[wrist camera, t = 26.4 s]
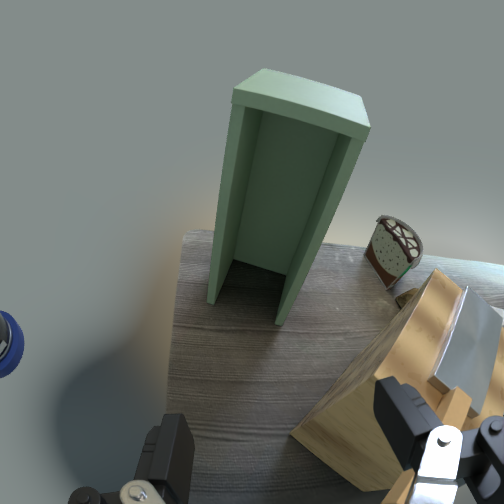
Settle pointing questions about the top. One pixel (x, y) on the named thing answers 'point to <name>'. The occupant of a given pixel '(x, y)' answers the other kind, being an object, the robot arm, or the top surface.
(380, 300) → the top surface
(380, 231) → the mint chocolate cake slice
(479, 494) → the robot arm
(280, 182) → the tall green cabinet
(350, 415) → the block
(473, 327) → the knife
